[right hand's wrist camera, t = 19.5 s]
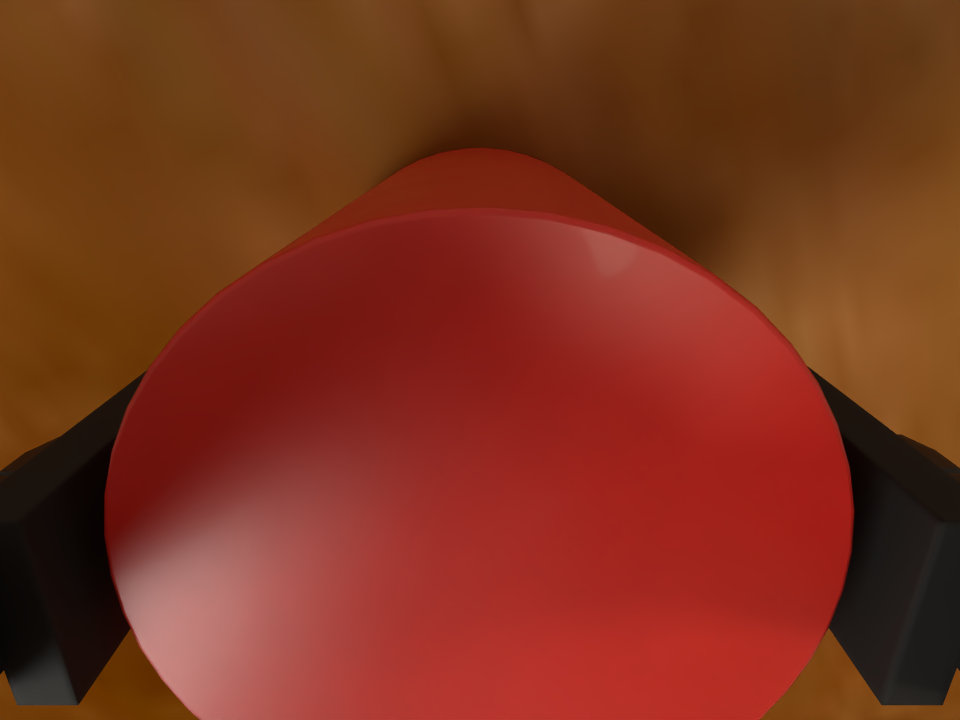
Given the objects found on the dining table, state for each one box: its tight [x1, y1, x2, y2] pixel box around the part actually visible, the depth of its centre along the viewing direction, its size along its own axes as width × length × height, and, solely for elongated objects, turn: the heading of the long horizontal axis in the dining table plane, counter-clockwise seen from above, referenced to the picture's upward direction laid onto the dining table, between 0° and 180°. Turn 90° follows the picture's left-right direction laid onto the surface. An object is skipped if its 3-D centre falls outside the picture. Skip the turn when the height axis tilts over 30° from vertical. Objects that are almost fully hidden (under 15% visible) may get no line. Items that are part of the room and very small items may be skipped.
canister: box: [104, 148, 854, 720], centre depth 13 cm, size 9×9×12 cm
